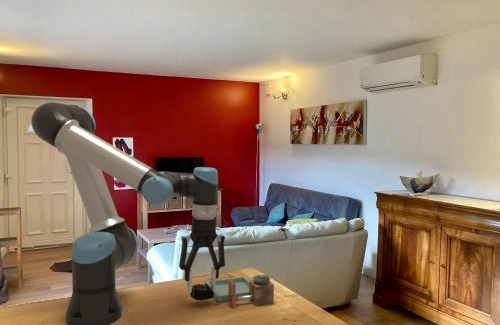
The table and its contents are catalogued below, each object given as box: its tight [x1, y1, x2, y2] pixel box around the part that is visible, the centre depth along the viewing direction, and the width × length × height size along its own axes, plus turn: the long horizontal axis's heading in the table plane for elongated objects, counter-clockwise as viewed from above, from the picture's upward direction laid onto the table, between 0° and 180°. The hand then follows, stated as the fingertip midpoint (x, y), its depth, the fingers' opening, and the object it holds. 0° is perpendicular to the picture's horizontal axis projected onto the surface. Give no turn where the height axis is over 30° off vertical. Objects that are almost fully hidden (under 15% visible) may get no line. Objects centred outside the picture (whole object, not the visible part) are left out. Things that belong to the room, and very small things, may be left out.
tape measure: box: [189, 283, 214, 302], centre depth 130 cm, size 7×7×4 cm
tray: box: [204, 276, 251, 304], centre depth 142 cm, size 15×15×2 cm
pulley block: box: [248, 274, 275, 307], centre depth 133 cm, size 6×6×8 cm
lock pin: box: [227, 280, 254, 308], centre depth 132 cm, size 14×4×7 cm, turn 112°
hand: (201, 289), depth 131 cm, fingers closed on tape measure, 7 cm apart
